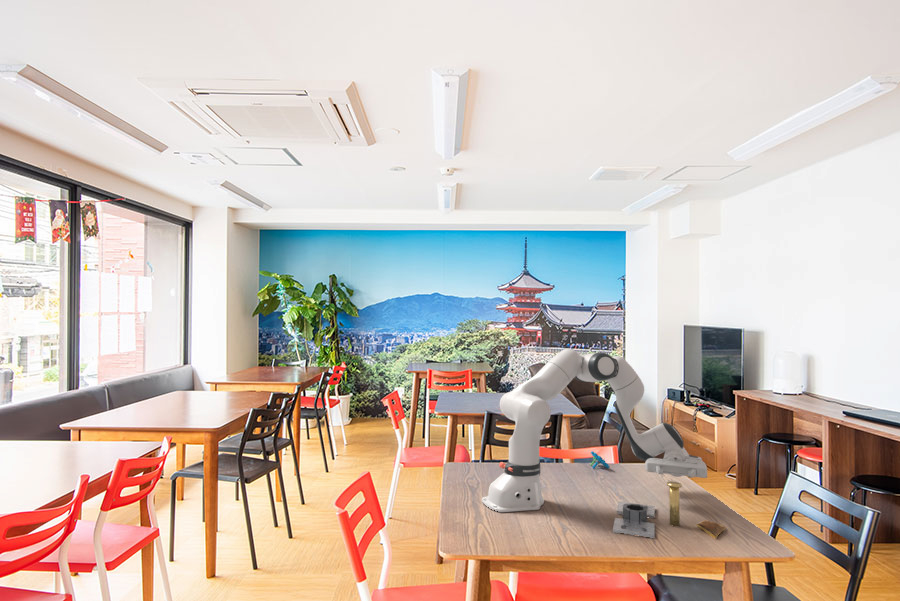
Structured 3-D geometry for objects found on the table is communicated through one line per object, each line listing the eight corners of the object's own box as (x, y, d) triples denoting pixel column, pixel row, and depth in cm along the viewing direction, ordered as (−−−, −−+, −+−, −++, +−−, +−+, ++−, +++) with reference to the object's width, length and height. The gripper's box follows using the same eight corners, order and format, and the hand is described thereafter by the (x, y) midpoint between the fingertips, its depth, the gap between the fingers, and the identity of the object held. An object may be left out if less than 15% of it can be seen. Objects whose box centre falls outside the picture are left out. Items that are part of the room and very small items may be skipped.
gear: (613, 467, 222) (597, 451, 223) (605, 477, 221) (588, 461, 222) (605, 464, 233) (589, 448, 234) (596, 473, 232) (580, 458, 233)
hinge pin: (675, 528, 160) (674, 486, 161) (664, 523, 164) (663, 482, 165) (685, 526, 162) (684, 484, 162) (674, 521, 166) (673, 480, 166)
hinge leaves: (654, 538, 152) (654, 525, 152) (612, 532, 156) (612, 519, 157) (654, 508, 177) (654, 497, 177) (618, 504, 181) (618, 492, 182)
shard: (716, 541, 151) (715, 535, 152) (689, 534, 157) (689, 528, 157) (727, 531, 159) (726, 525, 159) (701, 524, 165) (701, 518, 165)
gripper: (645, 452, 192) (643, 461, 179) (706, 457, 183) (707, 467, 170) (646, 468, 191) (643, 479, 179) (706, 475, 183) (708, 486, 170)
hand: (675, 473), depth 175 cm, fingers open, 8 cm apart
